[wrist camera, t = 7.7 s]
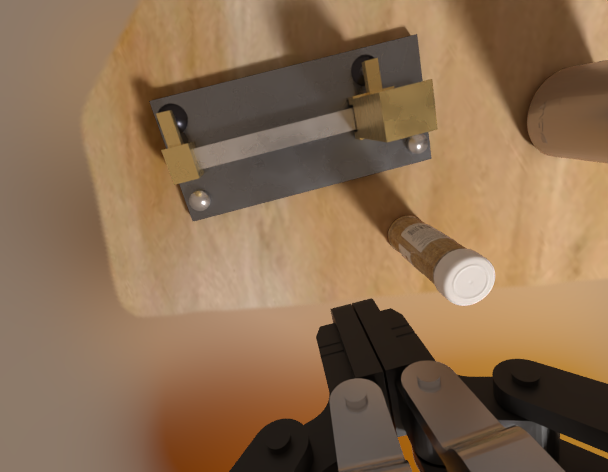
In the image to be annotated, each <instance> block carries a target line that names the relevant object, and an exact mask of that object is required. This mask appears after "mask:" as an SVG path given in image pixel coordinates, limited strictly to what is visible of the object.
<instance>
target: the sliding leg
mask: <svg viewBox="0 0 608 472" xmlns="http://www.w3.org/2000/svg"><path fill="white" fill-rule="evenodd" d="M360 74H361V75H364V81H365V87H366V93H364V94H360V95H357V96H353V97H349V98H348V100H349V105H353V108H354V113H355V119H356V124H357V130H358V131H357V132H354V133H355V138H356V139H358V140H363V139H369V140H375V141H381V142H391V141H395V140H399V139H403V138H406V137H410V136H414V135H418V134H422V133H426V132H429V131H433V130H437V120H436V111H435V101H434V92H433V83H432V79H430V80H426V81H422V82H418V83H414V84H410V85H405V86H401V87H397V88H394V86H392V87H388V88H384V89H382V83H381V76H380V70H379V63H378V58H375V59H371V60H367V61H364V62H362V67H361V68H360Z"/></svg>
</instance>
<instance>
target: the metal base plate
mask: <svg viewBox="0 0 608 472" xmlns="http://www.w3.org/2000/svg"><path fill="white" fill-rule="evenodd" d="M375 58H378V63H379V70H380V76H381V83H382V89H384V88H388V87H392V86H394V88H397V87H401V86H405V85H410V84H414V83H418V82H422V73H421V65H420V56H419V47H418V39H417V34H416V35H412V36H408V37H404V38H400V39H396V40H392V41H388V42H384V43H380V44H376V45H372V46H368V47H364V48H360V49H356V50H352V51H348V52H344V53H340V54H336V55H332V56H328V57H324V58H320V59H316V60H312V61H308V62H304V63H300V64H296V65H292V66H288V67H284V68H280V69H276V70H272V71H268V72H264V73H260V74H256V75H252V76H248V77H244V78H240V79H236V80H232V81H228V82H224V83H220V84H216V85H212V86H208V87H204V88H200V89H196V90H192V91H188V92H184V93H180V94H176V95H172V96H168V97H164V98H160V99H156V100H152V101H149V102H150V105H151V107H152V110H153V113H154V116H155V119H156V121H157V124H158V127H159V130H160V132H161V135H162V138H163V141H164V143H165V146H166V149H167V148H168V146H167V143H166V140H165V138H164V135H163V132H162V129H161V127H160V124H159V121H158V118H157V115H156V114H157V113H161V112H165V111H169V110H171V111H172V112H173V114H174V116H175V117H176V123H177V126H178V129H179V132H180V135H181V138H182V141H183V143H184V144H186V143H190V142H194V144H195V147H196V148H197V147H201V146H204V145H208V144H212V143H216V142H220V141H224V140H228V139H232V138H236V137H240V136H244V135H247V134H251V133H255V132H259V131H263V130H267V129H271V128H275V127H279V126H283V125H287V124H290V123H294V122H298V121H302V120H306V119H310V118H314V117H318V116H322V115H326V114H330V113H333V112H337V111H341V110H345V109H349V108H353V105H349V100H348V98H349V97H353V96H357V95H360V94H364V93H366V87H365V81H364V75H361V74H360V68H361V67H362V62H364V61H367V60H371V59H375ZM357 131H358V130H357V129H356V130H352V131H348V132H344V133H340V134H337V135H333V136H329V137H325V138H321V139H317V140H313V141H310V142H306V143H302V144H298V145H294V146H290V147H286V148H282V149H279V150H275V151H271V152H267V153H263V154H259V155H255V156H251V157H248V158H244V159H240V160H236V161H232V162H228V163H224V164H220V165H217V166H213V167H209V168H205V169H203V171H204V175H202V176H201V177H200V178H199V179H195V180H191V181H187V182H183V183H179V185H180V187H181V190H182V193H183V196H184V198H185V201H186V204H187V207H188V209H189V212H190V215H191V218H192V220H193V221H197V220H201V219H204V218H208V217H212V216H216V215H220V214H223V213H227V212H231V211H235V210H238V209H242V208H246V207H250V206H254V205H257V204H261V203H265V202H269V201H273V200H276V199H280V198H284V197H288V196H292V195H295V194H299V193H303V192H307V191H311V190H314V189H318V188H322V187H326V186H330V185H333V184H337V183H341V182H345V181H349V180H352V179H356V178H360V177H364V176H368V175H371V174H375V173H379V172H383V171H386V170H390V169H394V168H398V167H402V166H405V165H409V164H413V163H417V162H421V161H424V160H428V159H431V151H430V142H429V134H428V132H426V133H422V134H418V135H414V136H410V137H406V138H403V139H399V140H395V141H391V142H381V141H375V140H369V139H363V140H358V139H356V138H355V133H354V132H357Z"/></svg>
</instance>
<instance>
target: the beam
mask: <svg viewBox="0 0 608 472" xmlns="http://www.w3.org/2000/svg"><path fill="white" fill-rule="evenodd" d="M156 115H157V118H158V121H159V124H160V127H161V129H162V132H163V135H164V138H165V140H166V143H167V146H168V148H167V149H164V150H161V151H162V154H163V156H164V159H165V162H166V165H167V167H168V170H169V173H170V175H171V178H172V181H173V184H174V185H176V184H179V183H183V182H187V181H191V180H195V179H199V178H200V177H201V176H202V175H204V171H203V169H205V168H209V167H213V166H217V165H220V164H224V163H228V162H232V161H236V160H240V159H244V158H248V157H251V156H255V155H259V154H263V153H267V152H271V151H275V150H279V149H282V148H286V147H290V146H294V145H298V144H302V143H306V142H310V141H313V140H317V139H321V138H325V137H329V136H333V135H337V134H340V133H344V132H348V131H352V130H356V129H357V124H356V119H355V113H354V108H349V109H345V110H341V111H337V112H333V113H330V114H326V115H322V116H318V117H314V118H310V119H306V120H302V121H298V122H294V123H290V124H287V125H283V126H279V127H275V128H271V129H267V130H263V131H259V132H255V133H251V134H247V135H244V136H240V137H236V138H232V139H228V140H224V141H220V142H216V143H212V144H208V145H204V146H201V147H197V148H196V147H195V144H194V142H190V143H186V144H184V143H183V141H182V138H181V135H180V132H179V129H178V126H177V123H176V117H175V116H174V114H173V112H172V111H171V110H169V111H165V112H161V113H157V114H156Z"/></svg>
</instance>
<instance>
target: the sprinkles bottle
mask: <svg viewBox="0 0 608 472" xmlns="http://www.w3.org/2000/svg"><path fill="white" fill-rule="evenodd" d="M388 239H389V243H390V245H391V246H392V247H393V248H394V249H395V250H397V251H398V252H400V253H401V254H402V256H403V257H404V258H405V259H407V260H408V261H409V262H410V263H411V264H412V265H413V266H414V267H415V268H416V269H418V270H419V271H420V272H421V273H422V274H424V275H425V276H426V277H427V278H428V279H429V280H430V281H431V282H433V283H434V284H435V286H436V288H437V290H438V291H439V292H440V293H441V294H442V295H443V296H444V297H445V298H447V299H448V300H449V301H450V302H452V303H454V304H457V305H463V306H464V305H465V306H466V305H472V304H474V303H477V302H479V301H480V300H482V299H483V298H484V297H485V296H486V295H487V294H488V293H489V292H490V290H491V289H492V287H493V285H494V281H495V270H494V267H493V265H492V264H491V263H490V261H489V260H487V259H486V258H485V257H483V256H482V255H480V254H479V253H477V252H475V251H473V250H470V249H467V248H465V247H463V246H462V245H460V244H458V243H457V242H456V241H455V240H453V239H451V238H450V237H448V236H447V235H445V234H443V233H442V232H440V231H438V230H437V229H435V228H433V227H431V226H430V225H428V224H425V223H424V222H422V221H421V220H420V219H419V218H417V217H415V216H412V215H406V216H402V217H400V218H398V219H397V220H395V221H394V222H393V223H392V225H391V227H390V229H389V231H388Z"/></svg>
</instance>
